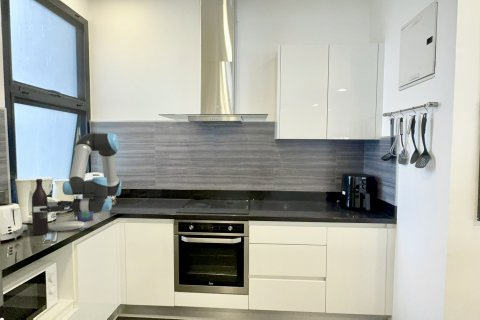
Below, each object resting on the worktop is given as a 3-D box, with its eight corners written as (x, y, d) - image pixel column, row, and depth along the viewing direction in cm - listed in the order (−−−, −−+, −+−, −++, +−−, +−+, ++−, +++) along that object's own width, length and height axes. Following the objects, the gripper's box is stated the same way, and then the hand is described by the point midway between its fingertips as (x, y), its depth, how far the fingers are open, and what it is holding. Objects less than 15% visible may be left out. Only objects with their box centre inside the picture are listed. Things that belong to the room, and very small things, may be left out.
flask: (92, 219, 198) (92, 203, 198) (94, 220, 196) (93, 204, 196) (77, 222, 192) (76, 205, 191) (78, 223, 190) (78, 206, 189)
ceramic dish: (56, 223, 188) (56, 221, 188) (87, 222, 191) (87, 220, 191) (43, 231, 170) (43, 229, 170) (78, 230, 174) (78, 228, 174)
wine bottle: (39, 236, 162) (38, 180, 161) (29, 234, 164) (27, 179, 163) (51, 232, 169) (49, 178, 168) (41, 231, 171) (39, 178, 169)
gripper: (74, 217, 159) (28, 219, 154) (87, 207, 183) (48, 208, 178) (74, 203, 158) (28, 204, 154) (87, 195, 182) (48, 196, 178)
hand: (39, 206), depth 166 cm, fingers open, 13 cm apart
